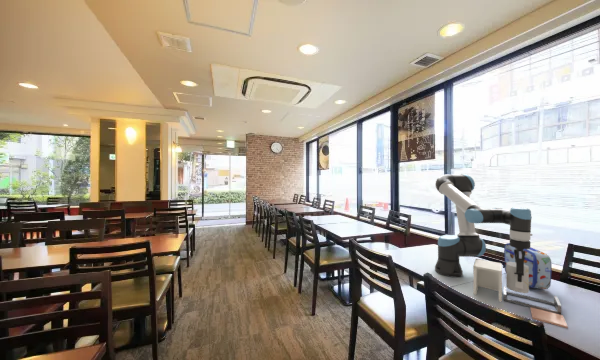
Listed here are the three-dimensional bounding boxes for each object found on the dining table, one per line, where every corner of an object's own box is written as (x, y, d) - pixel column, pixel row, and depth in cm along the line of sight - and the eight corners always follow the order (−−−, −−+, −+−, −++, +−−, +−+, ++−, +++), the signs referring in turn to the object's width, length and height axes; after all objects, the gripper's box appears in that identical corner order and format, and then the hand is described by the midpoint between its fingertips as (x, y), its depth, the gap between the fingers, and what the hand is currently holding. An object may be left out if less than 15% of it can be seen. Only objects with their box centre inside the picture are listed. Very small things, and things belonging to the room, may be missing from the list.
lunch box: (499, 272, 151) (499, 238, 151) (517, 273, 149) (517, 238, 149) (532, 292, 124) (531, 250, 124) (555, 293, 122) (555, 251, 122)
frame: (503, 300, 115) (503, 292, 115) (503, 292, 123) (503, 284, 123) (561, 315, 103) (561, 305, 103) (556, 304, 111) (556, 296, 111)
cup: (530, 294, 111) (530, 269, 111) (508, 290, 115) (508, 266, 115) (526, 287, 118) (526, 263, 117) (505, 283, 122) (504, 260, 122)
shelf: (473, 294, 122) (473, 265, 122) (475, 284, 133) (475, 258, 133) (501, 301, 114) (501, 271, 114) (501, 291, 125) (501, 263, 125)
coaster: (532, 318, 100) (532, 316, 100) (530, 308, 108) (530, 307, 108) (567, 328, 94) (567, 326, 94) (562, 317, 101) (562, 315, 101)
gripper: (532, 245, 105) (531, 295, 106) (528, 236, 121) (527, 279, 121) (510, 242, 110) (509, 290, 111) (509, 233, 126) (508, 275, 126)
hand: (518, 284), depth 116 cm, fingers closed on cup, 8 cm apart
